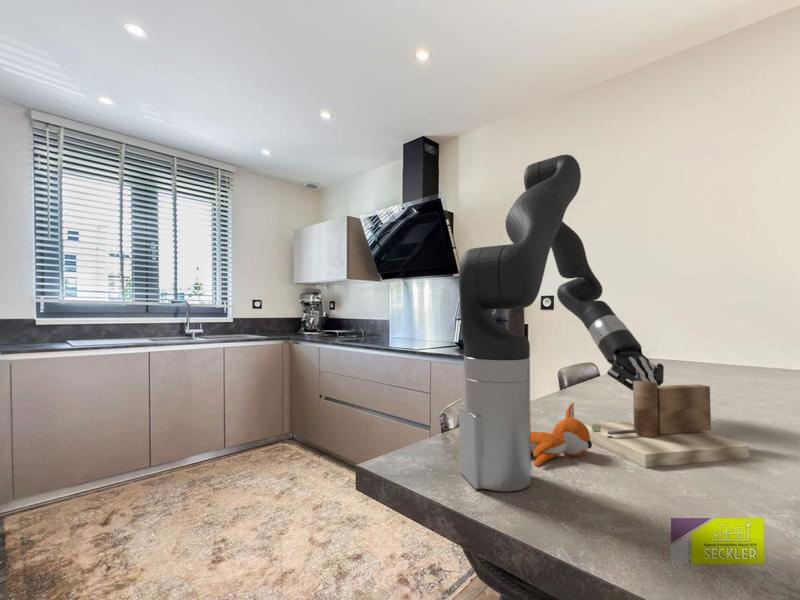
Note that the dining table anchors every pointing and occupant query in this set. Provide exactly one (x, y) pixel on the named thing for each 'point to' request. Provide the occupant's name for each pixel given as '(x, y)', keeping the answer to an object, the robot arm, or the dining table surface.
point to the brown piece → (669, 409)
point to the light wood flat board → (665, 446)
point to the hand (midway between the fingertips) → (661, 405)
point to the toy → (561, 439)
